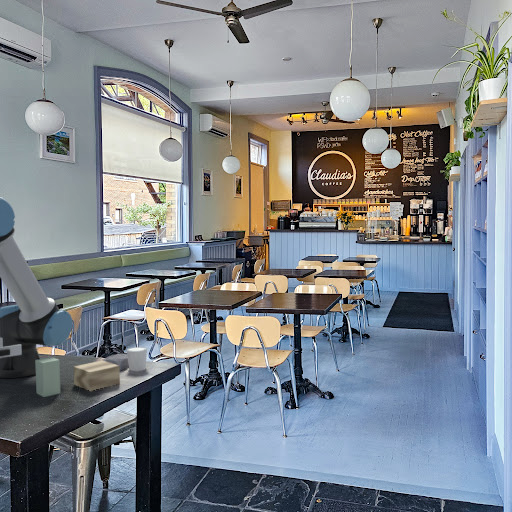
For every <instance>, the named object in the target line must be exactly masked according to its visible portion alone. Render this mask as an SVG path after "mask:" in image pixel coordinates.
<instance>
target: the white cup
mask: <svg viewBox="0 0 512 512" xmlns="http://www.w3.org/2000/svg"><path fill="white" fill-rule="evenodd" d="M147 353H148V348H147V347H144V346H136V347H134V346H133V347H129V348H126V354H127V357H128V365H129V366H128V371H131V372H142V371H145V370H146V367H147V355H148V354H147Z"/></svg>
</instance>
